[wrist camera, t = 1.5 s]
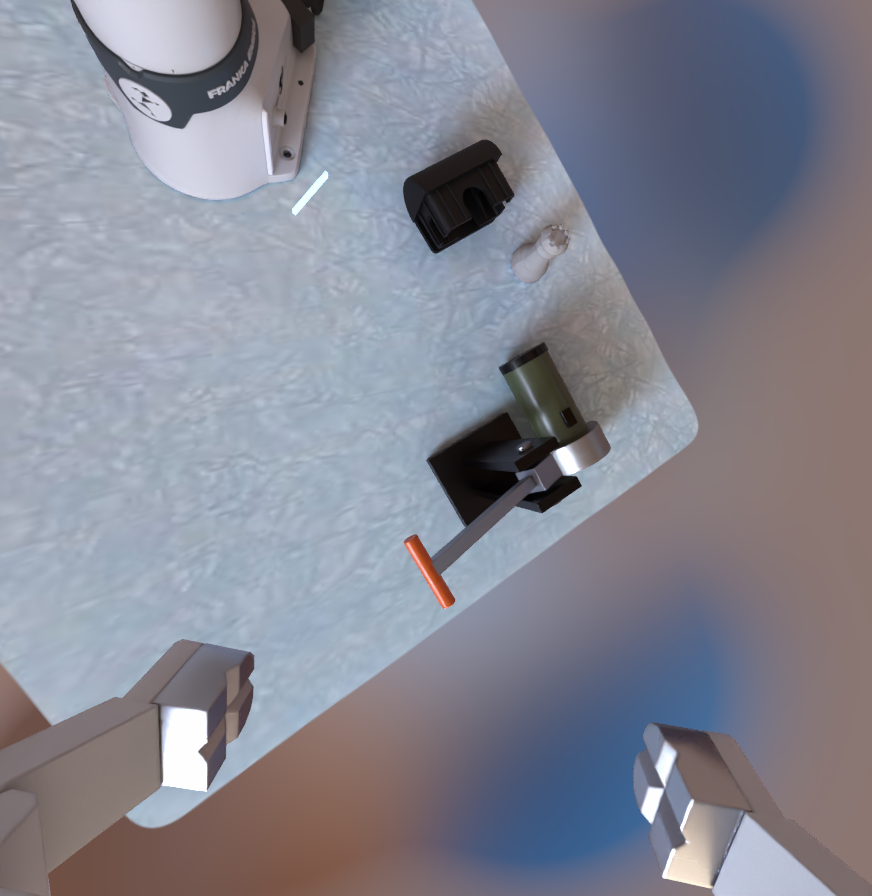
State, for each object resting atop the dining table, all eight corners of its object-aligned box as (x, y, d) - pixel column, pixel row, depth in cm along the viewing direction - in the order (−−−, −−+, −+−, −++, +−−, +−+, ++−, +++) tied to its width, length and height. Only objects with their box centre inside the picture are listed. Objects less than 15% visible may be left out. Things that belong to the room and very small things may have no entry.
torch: (587, 446, 58) (624, 445, 51) (542, 476, 56) (574, 479, 49) (534, 346, 56) (564, 330, 49) (486, 374, 54) (511, 362, 47)
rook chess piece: (514, 287, 55) (545, 260, 48) (504, 251, 55) (535, 217, 47) (546, 280, 56) (582, 253, 49) (537, 245, 56) (572, 211, 49)
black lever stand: (464, 526, 53) (522, 555, 38) (426, 460, 52) (469, 462, 37) (538, 477, 56) (621, 485, 41) (503, 412, 55) (574, 396, 40)
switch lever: (434, 607, 34) (453, 610, 32) (396, 543, 33) (412, 542, 31) (552, 494, 43) (572, 490, 41) (523, 441, 42) (542, 436, 40)
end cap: (467, 165, 54) (487, 125, 48) (498, 219, 55) (522, 187, 48) (397, 201, 52) (408, 165, 45) (430, 257, 53) (446, 229, 46)
